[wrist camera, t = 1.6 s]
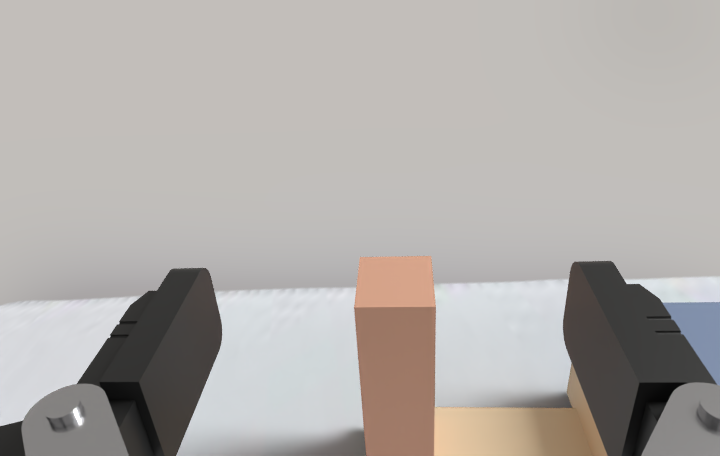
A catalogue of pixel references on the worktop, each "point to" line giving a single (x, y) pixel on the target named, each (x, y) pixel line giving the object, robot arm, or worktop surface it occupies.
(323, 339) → the worktop surface
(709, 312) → the sleeve
